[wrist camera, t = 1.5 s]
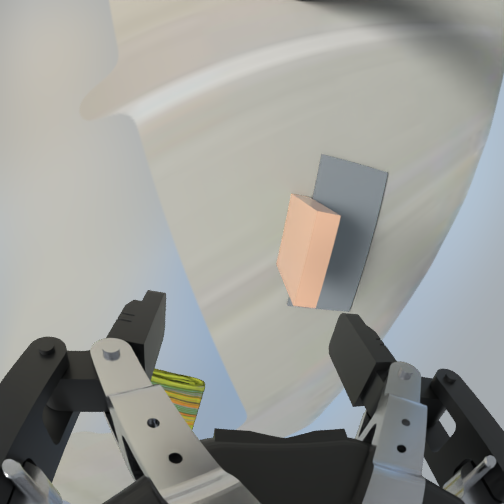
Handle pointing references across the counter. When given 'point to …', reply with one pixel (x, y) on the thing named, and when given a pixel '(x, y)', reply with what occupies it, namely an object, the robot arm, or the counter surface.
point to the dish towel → (181, 392)
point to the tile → (306, 249)
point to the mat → (347, 225)
